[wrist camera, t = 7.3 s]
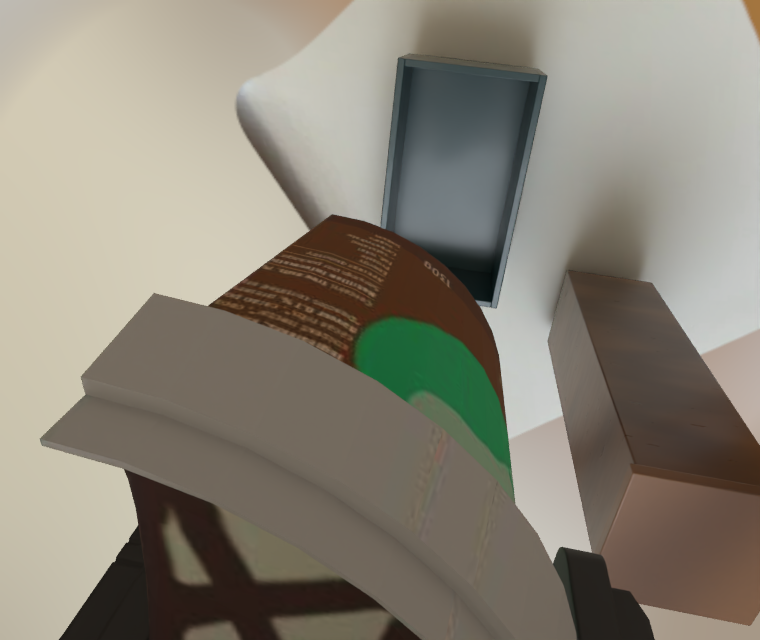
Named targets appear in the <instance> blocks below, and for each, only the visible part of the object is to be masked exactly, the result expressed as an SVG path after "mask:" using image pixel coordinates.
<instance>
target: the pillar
mask: <svg viewBox="0 0 760 640" xmlns="http://www.w3.org/2000/svg"><path fill="white" fill-rule="evenodd" d="M548 345H549V350H550V355H551V359H552V364H553V369H554V374H555V378H556V383H557V388H558V393H559V397H560V402H561V407H562V412H563V416H564V421H565V425H566V431H567V435H568V440H569V445H570V450H571V454H572V459H573V464H574V469H575V473H576V478H577V483H578V488H579V492H580V497H581V501H582V507H583V511H584V516H585V521H586V526H587V530H588V535H589V540H590V545H591V549H592V553H594V552H595V549H596V547H597V544H598V542H599V539H600V537H601V534H602V532H603V529H604V527H605V524H606V522H607V519H608V517H609V514H610V512H611V509H612V507H613V504H614V502H615V499H616V497H617V494H618V492H619V489H620V487H621V484H622V482H623V479H624V477H625V474H626V472H627V469H628V467H629V464H630V463H632V464H638V465H643V466H649V467H655V468H660V469H666V470H671V471H677V472H683V473H688V474H694V475H700V476H705V477H711V478H716V479H722V480H728V481H733V482H739V483H744V484H750V485H756V486H760V445H759V444H758V442H757V441H756V439H755V438H754V436H753V435H752V433H751V432H750V430H749V429H748V427H747V426H746V424H745V423H744V421H743V420H742V418H741V417H740V415H739V413H738V412H737V411H736V409H735V408H734V406H733V405H732V403H731V401H730V400H729V398H728V397H727V395H726V394H725V392H724V391H723V389H722V388H721V386H720V385H719V384H718V382H717V380H716V379H715V377H714V376H713V374H712V373H711V371H710V370H709V368H708V367H707V365H706V364H705V362H704V361H703V359H702V358H701V356H700V355H699V353H698V352H697V350H696V349H695V347H694V346H693V344H692V343H691V341H690V340H689V338H688V336H687V335H686V333H685V332H684V330H683V329H682V327H681V326H680V324H679V323H678V321H677V320H676V318H675V317H674V315H673V314H672V312H671V311H670V309H669V308H668V306H667V305H666V303H665V302H664V300H663V299H662V297H661V296H660V294H659V293H658V291H657V290H656V288H655V287H654V285H653V284H652V283H650V282H643V281H636V280H630V279H623V278H616V277H610V276H603V275H596V274H590V273H583V272H576V271H570V270H567V272H566V276H565V279H564V283H563V287H562V290H561V294H560V297H559V301H558V305H557V308H556V312H555V316H554V319H553V323H552V327H551V330H550V334H549V338H548Z"/></svg>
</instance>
